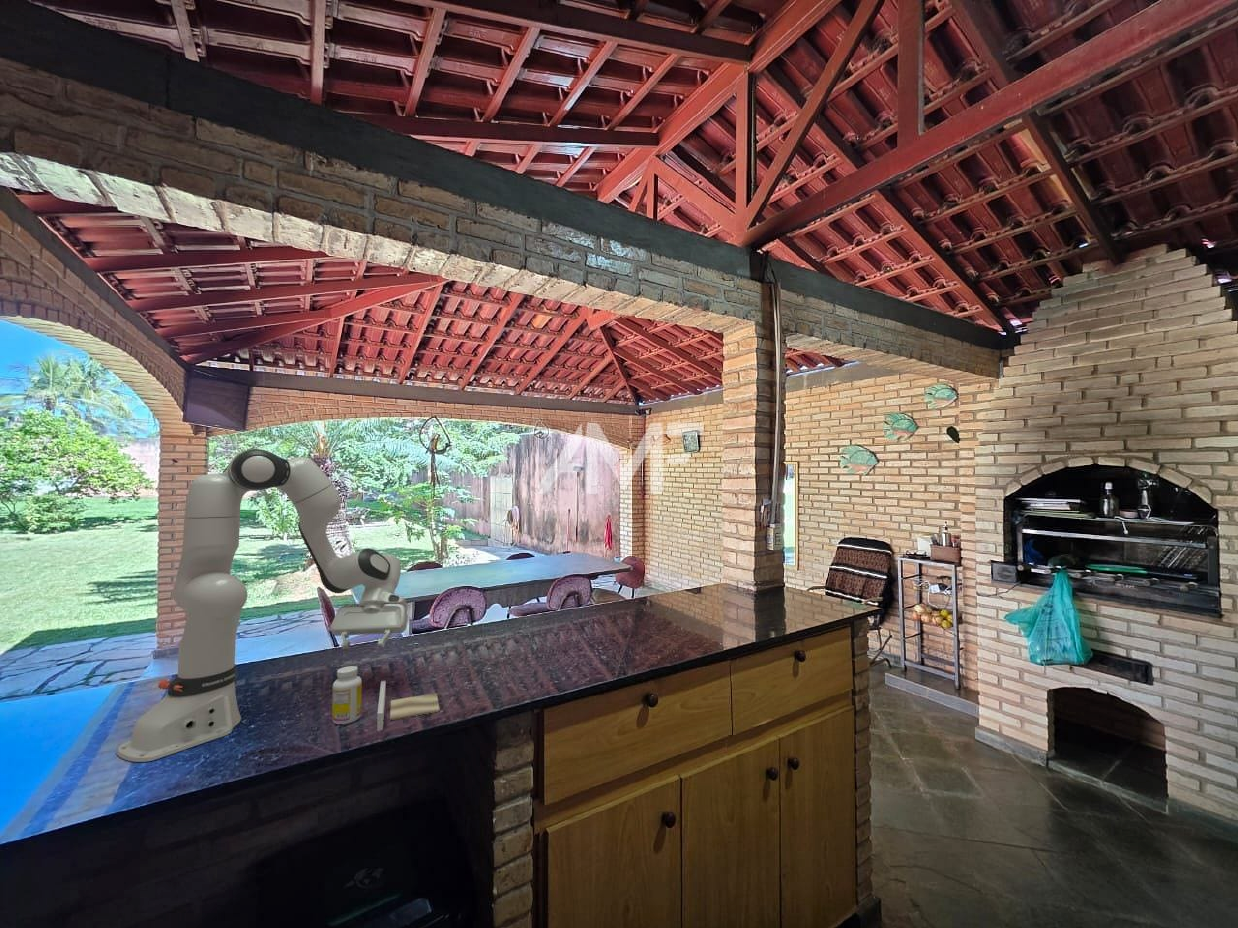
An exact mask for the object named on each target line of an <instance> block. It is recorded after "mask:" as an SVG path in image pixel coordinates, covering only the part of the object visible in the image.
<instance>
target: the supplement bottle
mask: <svg viewBox="0 0 1238 928" xmlns="http://www.w3.org/2000/svg"><path fill="white" fill-rule="evenodd" d="M358 672H359V671H358V666H355V665H351V666H345V667H343V666H342V667H341V668H339V669H338V670H337V672H336V677H337V679H336V680H335V681H334V682H333V684H332V699H331V700H332V705H331V706H332V709H331V710H332V711H331V712H332V713H331V714H332V716H331V717H332V718H331V719H332V722H333V724H336V725H340V724H342V725H346V724H347V725H348V724H350V723H353V722H355V721H357V720H359V719H360V718H361V717H362V709H363V708H362V707H363V706H362V703H363V702H362V699H363V698H362V693H363V691H362V687H363V686H362V685H363V683H362V681H363V680H362V678H361V677H360V676H358V675H357V674H358Z"/></svg>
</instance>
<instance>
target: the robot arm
mask: <svg viewBox="0 0 1238 928" xmlns="http://www.w3.org/2000/svg"><path fill="white" fill-rule="evenodd" d="M271 488H277V489H280V490H281V491H282V492H283V493H284V494H285V495H286V496H287V498H288V499H289V500H290V502H291V504H293V506H294V508H295V510H296V512H297V515H298V520H299V521H298V524H297V525H298V531H299V533H300V536H301V538H302V540H303V543H304V544H305V547H306V548H307V550H308V551H309V554H310V556H311V558H312V560H313V562H314V563H315V565H316V568H317V570H318V572H319V577H320V580H321V584H322V585H323V586H324V588H325V589H327V590H328V591H330V592H331V593H332V594H333V593H334V594H343V593H345V592H347V591H349V590H351V589H354V588H355V587H358V586H360V585H362V586H364V590H363V593H362V596H361V599H360V601H359V603H354V604H353V603H352V604H344V605H342V606H340V607H338V608H337V611H336V613H335V616H334V618H333V621H332V622H331V624H330V627H329V628H330V629H329V630H330V631H331V633H332V634H333V636H336V637H337V636H339V637H340V636H341V639H342V644H341V649H343V650H348V649H350V646H351V642H350V641H349V640H347V639H349V638H350V636H359V635H360V636H361V635H364V636H365V635H382V634H383V636H382V638H379V639H378V640H377V641H378V642H377V643H376V644H377V647H378V648H384V647H385V645H386V642H387V641H389V639H390V638H391V637H392V634H402V633H404V632H406V630H407V626H408V621H409V620H408V619H409V618H408V617H409V616H408V613H407V611H408V603H407V601H406V599H405V598H404V597H403V596H402V595H399V594H395V593H396V591H395V590H396V589H397V588H398V586H399V581H400V579H401V571H402V565H401V561H400V559H399V558H398V557H397V556H395V555H394V554H391V553H380V552H378V551H377V550H375V549H373V548H363V549H360V550H358V551H356V552H353V553H351V554H349V555H346V556H343V557H339V556H338V555H337V554H336V552H335V550H334V548H333V546H332V543H331V542H330V540H329V538H328V535H327V528H328V525H329V524H330V522H331V521H333V519H335V517H336V516H337V515H338V513H339V511H340V508H341V504H342V499H341V497H340V494H339V492H338V491H337V488H336V487H335V486H334V484H333V483H332V482H331V480H330V479H329V477H328V476H327V474H325V472H324V471H323V470H322V469H321V468H320V466H319V465H318V464H317V463H315V461H314V460H313V459H311V458H310V457H307V456H297V457H292V458H290V459H288V460H287V459H284V457H283V458H282V457H281V456H279V455H277V454H274V453H273V452H271V451H269V450H265V449H260V448H254V449H253V448H252V449H247V450H243V451H240V452H239V453H237V454H236V455H235V456H234V457H233V458H232V459H231V461H230V462H229V463H228V465H227V466H226V468H225V469H224V470H223V471H222V472H221V473H207V474H203V475H200V476H198V477H196V478H195V479H193V480H192V481H191V483H190V487H189V489H188V492H187V497H186V500H185V508H184V516H183V519H184V520H183V534H182V535H183V536H182V549H181V556H180V559H179V563H178V568H177V573H176V577H175V584H174V586H173V588H172V596H173V597H172V598H173V600H174V602H175V604H176V605H177V606H178V607H179V609H182V610H184V611H185V612H186V619H185V624H184V628H183V633H182V635H181V636H182V637H181V639H180V640H179V643H178V653H177V654H178V655H177V656H178V657H177V674H176V675H175V677H174V678H173V679H172V680H167V679H162V680H160V681H159V683H158V684H157V688H159V690H160V689H161V690H162V691H163V690H167V694H166V695H165V696H163V698H162V699H160V700H159V701H158V702H157V703H156V704H155V705H153V706H152V707H151V708H150V709H148V711H147V712H146V711H145V713H144V714H142V716H140V717H139V718H138V719H137V720H136V722H135V724H134V726H133V729H132V734H131V738H130V740H127V741H126V742H123V743H121V744H120V745H118V747H117V751H116V755H117V756H118V757H119V758H121V759H123V760H125V761H129V762H135V763H136V762H137V763H139V762H140V763H143V762H145V763H146V762H151V761H155V760H158V759H161V758H164V757H167V756H170V755H173V754H176V753H178V752H181V751H184V750H187V749H190V748H193V747H195V746H199V745H201V744H205V743H207V742H210V741H213V740H216V739H219V738H222V737H225V736H227V735H229V734H231V733H232V732H233V729H234V728H235V727H236V726H237V725H238V724H240V722H241V720H242V717H241V714H240V710H239V707H238V702H237V697H236V696H237V695H236V685H237V681H238V680H237V677H238V669H237V664H236V638H237V632H238V626H239V623H240V619H241V615H242V612H243V611H242V610H243V607H244V606H245V604H246V603H247V600H248V589H247V587H246V586H245V584H244V583H243V581H241V579H240V578H238V577H237V576H235V575H232V574H231V570H232V565H233V562H234V558H235V556H236V555H235V554H236V552H237V550H238V548H239V545H240V527H241V525H240V524H241V504H242V501H243V497H244V496H245V494H247V493H248V492H251V491H252V492H257V491H262V490H268V489H271Z"/></svg>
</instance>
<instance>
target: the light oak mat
mask: <svg viewBox="0 0 1238 928" xmlns="http://www.w3.org/2000/svg"><path fill="white" fill-rule="evenodd" d="M440 710H441V709H440V703H439V699H438V692H434V693H426V694H421V695H416V696H409V697H404V698H398V699H397V698H396V699H392V700H390V710H389V711H390V713H389V721H390V720H394V719H400V718H405V717H411V716H416V717H419V716H418V715H422V714H427V715H430V714H429V713H433V714H435V713H434V712H438V711H440ZM440 712H441V711H440ZM438 713H439V712H438ZM422 716H423V715H422ZM411 718H412V717H411ZM405 719H406V718H405ZM400 720H401V719H400Z"/></svg>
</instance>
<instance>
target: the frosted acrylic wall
mask: <svg viewBox="0 0 1238 928" xmlns="http://www.w3.org/2000/svg"><path fill="white" fill-rule="evenodd" d="M386 681H387V680H381V681H380V689H379V698H378V705H377V722H376V723H377V724H376V725H377V726H376V728H377V729H376V730H377V731H380V730H384V721H383V720H384V718H385V708H386V707H385V705H386V704H385V703H386V693H387V692H386V686H387V685H386ZM377 731H376V732H377Z"/></svg>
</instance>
